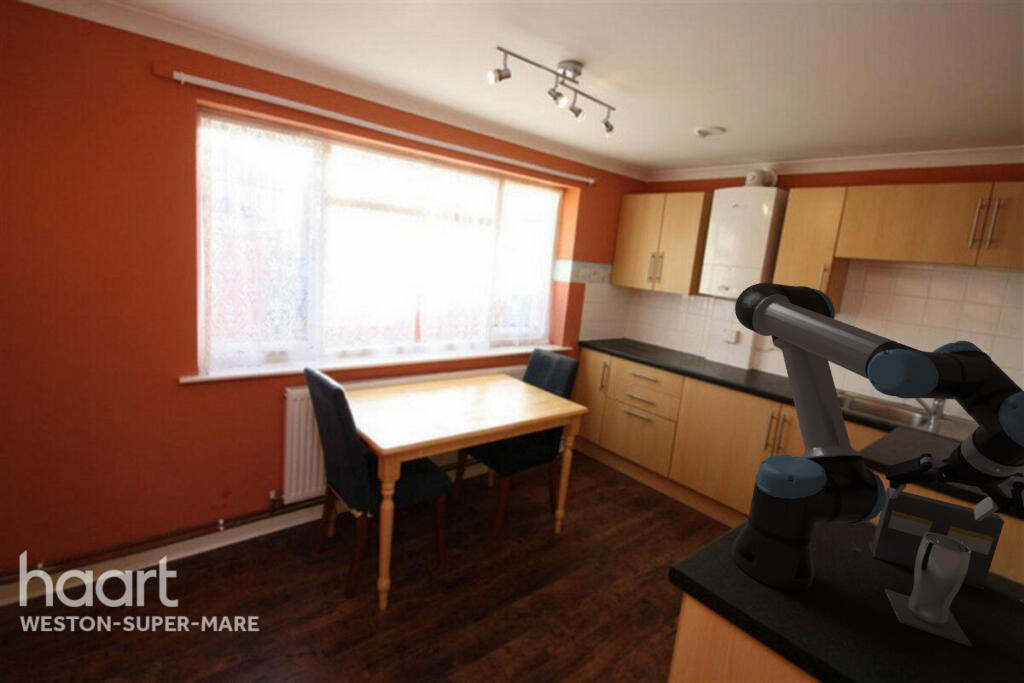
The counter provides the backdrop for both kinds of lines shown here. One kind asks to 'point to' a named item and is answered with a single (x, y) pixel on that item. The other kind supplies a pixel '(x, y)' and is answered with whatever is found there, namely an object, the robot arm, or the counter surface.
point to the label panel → (920, 515)
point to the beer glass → (937, 577)
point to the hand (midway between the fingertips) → (932, 502)
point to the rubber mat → (906, 617)
